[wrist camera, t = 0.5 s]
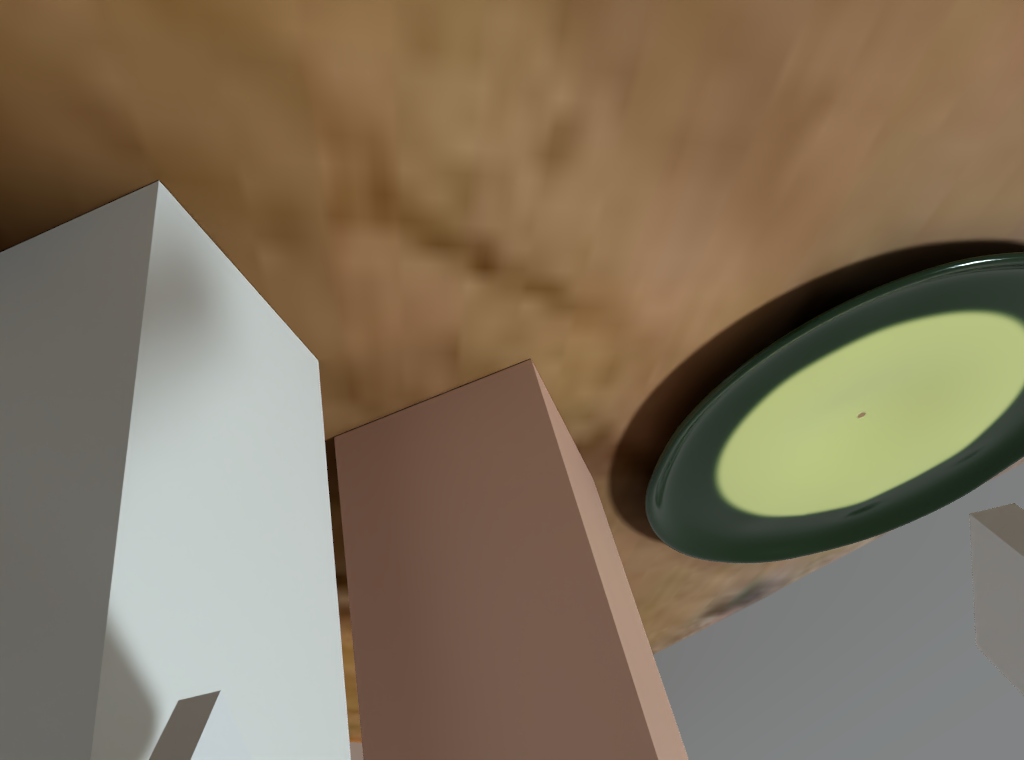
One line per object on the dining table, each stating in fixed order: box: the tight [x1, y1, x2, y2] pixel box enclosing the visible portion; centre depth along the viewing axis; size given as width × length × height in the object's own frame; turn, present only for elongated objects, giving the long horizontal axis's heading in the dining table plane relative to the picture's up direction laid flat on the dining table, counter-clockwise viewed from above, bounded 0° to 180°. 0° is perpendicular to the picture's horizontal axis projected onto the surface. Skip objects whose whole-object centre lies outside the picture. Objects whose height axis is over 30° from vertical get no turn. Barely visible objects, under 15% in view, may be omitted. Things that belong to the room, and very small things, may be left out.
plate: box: [645, 252, 1024, 563], centre depth 45 cm, size 28×28×2 cm
